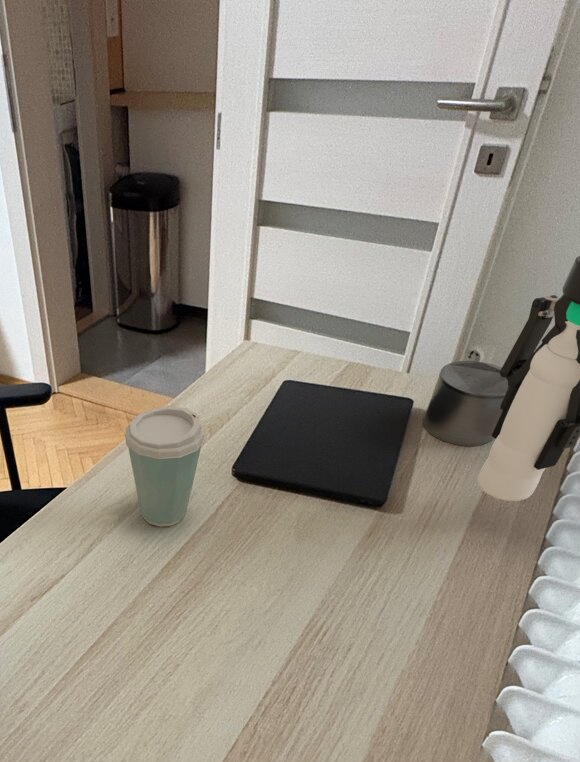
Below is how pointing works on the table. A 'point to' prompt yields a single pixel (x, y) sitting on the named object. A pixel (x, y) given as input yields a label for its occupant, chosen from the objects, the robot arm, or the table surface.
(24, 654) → the table surface
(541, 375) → the water bottle
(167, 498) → the disposable coffee cup
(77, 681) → the table surface
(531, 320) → the robot arm
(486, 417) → the tin
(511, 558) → the table surface
